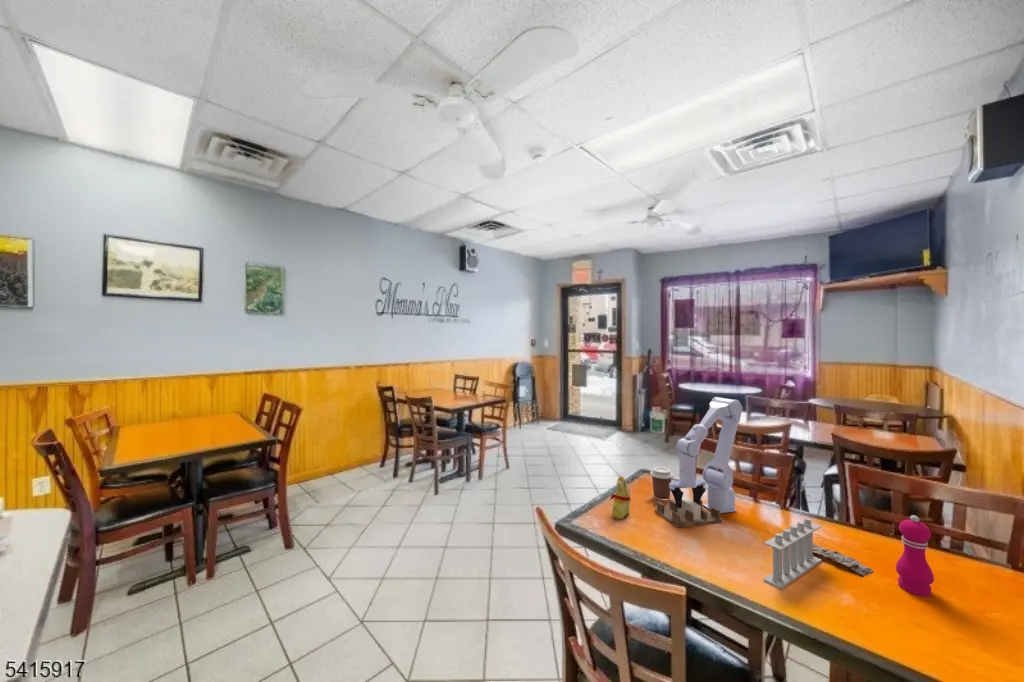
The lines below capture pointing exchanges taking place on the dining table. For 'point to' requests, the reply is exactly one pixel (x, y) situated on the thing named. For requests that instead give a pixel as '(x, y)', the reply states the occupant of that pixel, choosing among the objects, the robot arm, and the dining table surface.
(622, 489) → the chocolate bunny
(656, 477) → the coffee cup
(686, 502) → the cream rectangular block
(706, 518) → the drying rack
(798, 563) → the test tube rack
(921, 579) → the pepper mill
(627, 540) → the dining table surface
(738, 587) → the dining table surface
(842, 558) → the stone fragment
